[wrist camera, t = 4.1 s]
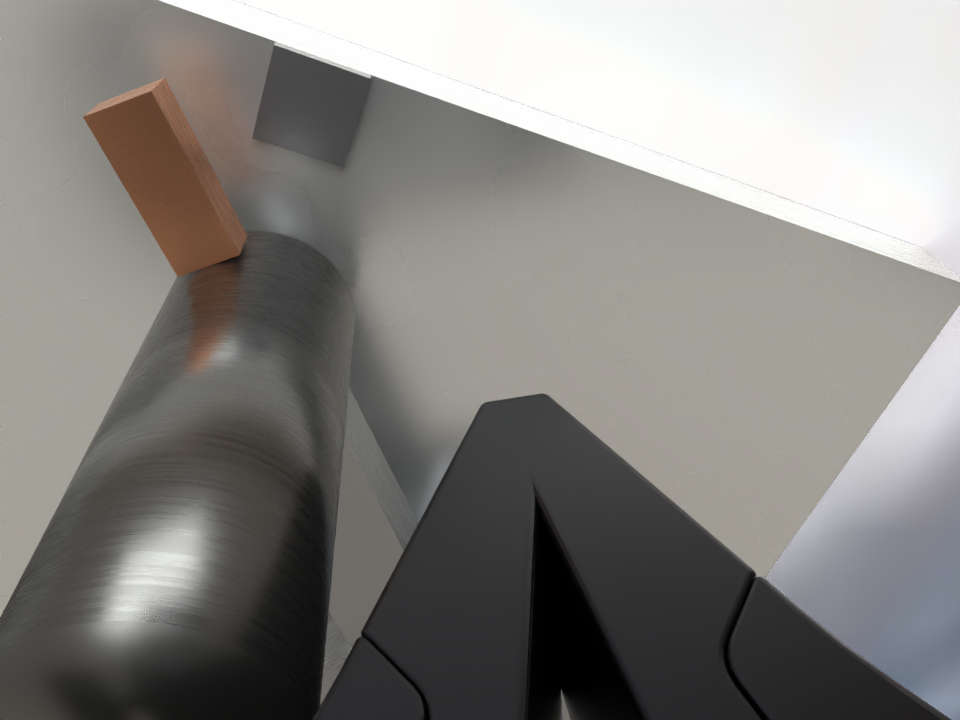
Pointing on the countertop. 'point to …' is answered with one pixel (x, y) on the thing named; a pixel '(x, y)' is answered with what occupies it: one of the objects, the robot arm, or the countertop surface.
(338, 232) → the level stand
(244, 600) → the capstan
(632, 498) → the robot arm
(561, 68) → the countertop surface
